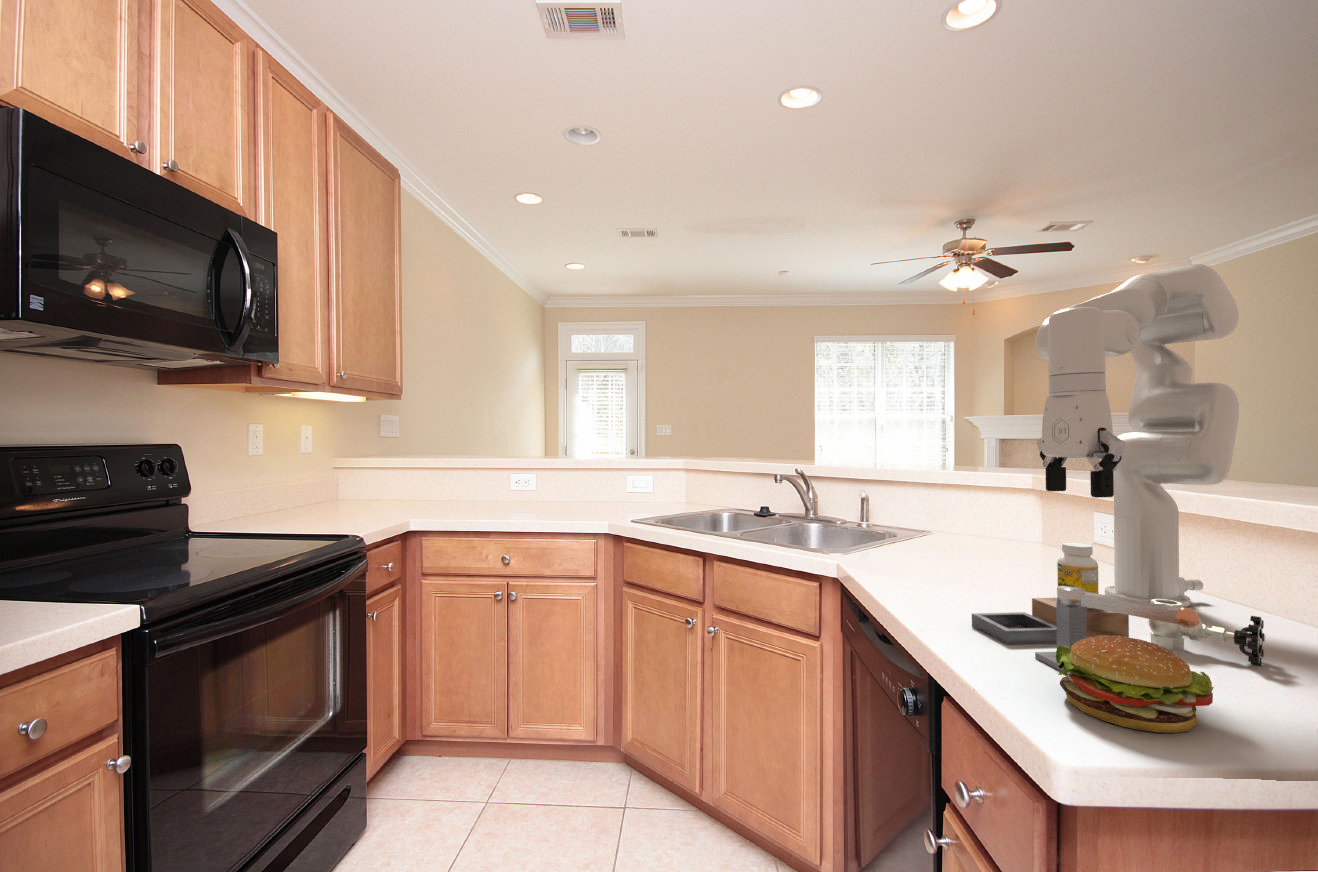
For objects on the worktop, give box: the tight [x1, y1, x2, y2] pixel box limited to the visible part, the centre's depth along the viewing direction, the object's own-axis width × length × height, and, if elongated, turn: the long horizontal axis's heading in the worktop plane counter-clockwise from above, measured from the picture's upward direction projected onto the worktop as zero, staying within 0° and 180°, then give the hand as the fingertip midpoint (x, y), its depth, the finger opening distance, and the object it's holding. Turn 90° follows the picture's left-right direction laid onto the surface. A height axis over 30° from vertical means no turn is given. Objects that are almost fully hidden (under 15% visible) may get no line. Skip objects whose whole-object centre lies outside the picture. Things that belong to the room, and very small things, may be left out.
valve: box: [1148, 599, 1266, 667], centre depth 86 cm, size 7×7×12 cm
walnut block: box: [1031, 597, 1130, 638], centre depth 96 cm, size 9×9×4 cm
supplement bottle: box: [1056, 542, 1100, 609], centre depth 96 cm, size 5×5×10 cm
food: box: [1055, 635, 1215, 733], centre depth 68 cm, size 14×14×8 cm
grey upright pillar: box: [1034, 602, 1087, 676], centre depth 82 cm, size 6×6×8 cm
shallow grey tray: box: [971, 611, 1057, 646], centre depth 95 cm, size 9×9×2 cm
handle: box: [1056, 586, 1201, 628], centre depth 77 cm, size 15×3×2 cm, turn 36°
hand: (1077, 493), depth 96 cm, fingers open, 9 cm apart
